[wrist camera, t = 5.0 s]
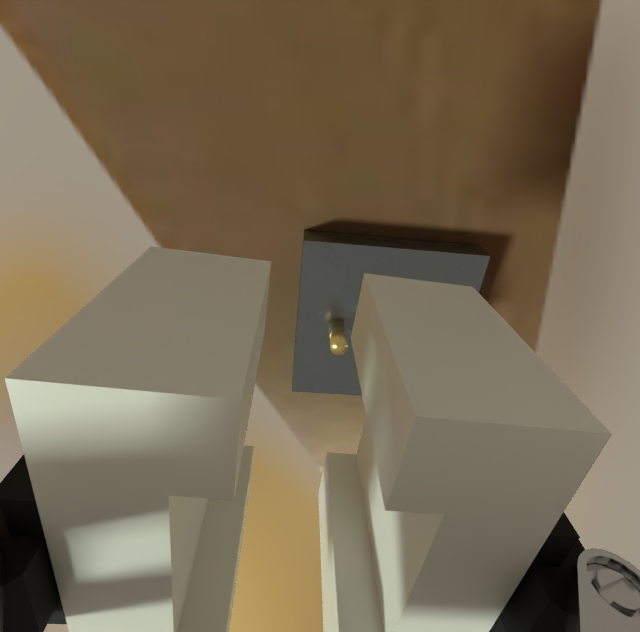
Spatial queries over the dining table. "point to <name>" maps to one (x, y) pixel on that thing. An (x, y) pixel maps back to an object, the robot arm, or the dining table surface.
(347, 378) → the post base
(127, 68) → the dining table surface
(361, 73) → the dining table surface
